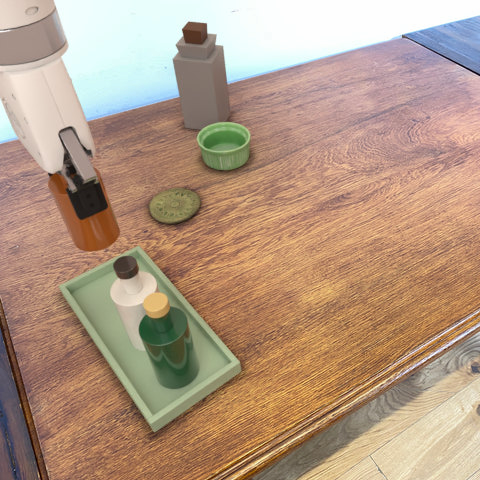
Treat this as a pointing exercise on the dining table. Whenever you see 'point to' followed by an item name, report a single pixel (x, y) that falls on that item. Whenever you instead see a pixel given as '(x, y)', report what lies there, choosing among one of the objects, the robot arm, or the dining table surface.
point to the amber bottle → (92, 228)
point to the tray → (137, 362)
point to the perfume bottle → (201, 77)
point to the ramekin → (224, 145)
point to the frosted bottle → (131, 296)
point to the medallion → (174, 205)
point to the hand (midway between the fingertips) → (81, 197)
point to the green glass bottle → (168, 342)
